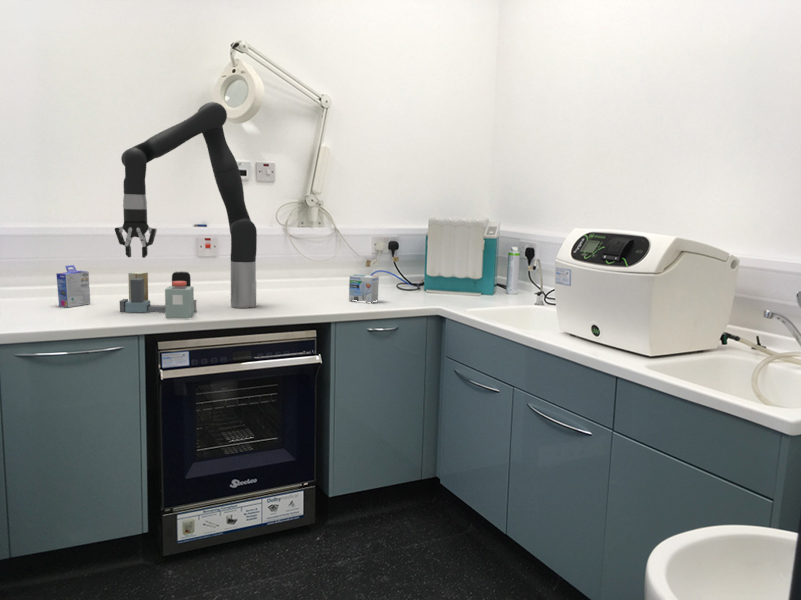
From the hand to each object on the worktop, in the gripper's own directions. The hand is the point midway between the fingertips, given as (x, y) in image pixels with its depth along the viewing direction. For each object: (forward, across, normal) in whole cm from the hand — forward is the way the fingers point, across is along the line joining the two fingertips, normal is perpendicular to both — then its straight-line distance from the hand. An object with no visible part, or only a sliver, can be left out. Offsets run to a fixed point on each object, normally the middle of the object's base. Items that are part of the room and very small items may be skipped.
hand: (136, 257), depth 225 cm
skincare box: (+19, +3, -13) cm, 24 cm away
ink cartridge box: (+20, +25, -11) cm, 34 cm away
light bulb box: (+20, -82, -28) cm, 89 cm away
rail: (+19, -7, 0) cm, 21 cm away
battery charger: (+19, -10, -25) cm, 33 cm away
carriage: (+19, 0, 0) cm, 19 cm away
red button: (+17, -16, +9) cm, 25 cm away
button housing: (+19, -16, +9) cm, 27 cm away
